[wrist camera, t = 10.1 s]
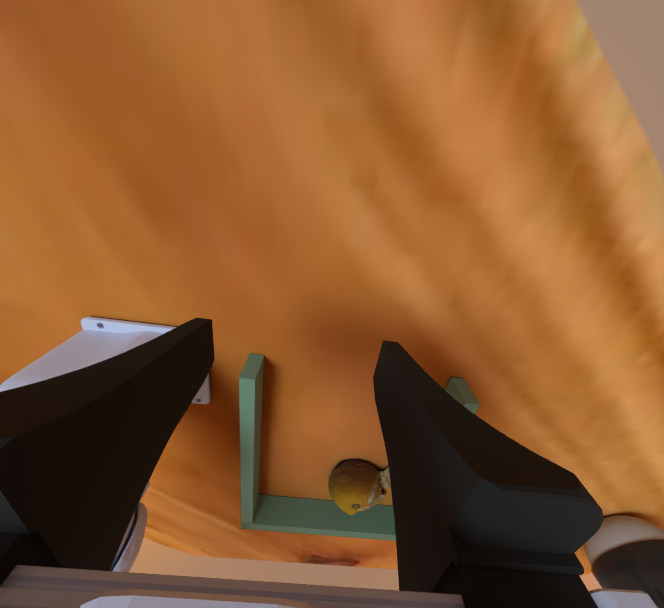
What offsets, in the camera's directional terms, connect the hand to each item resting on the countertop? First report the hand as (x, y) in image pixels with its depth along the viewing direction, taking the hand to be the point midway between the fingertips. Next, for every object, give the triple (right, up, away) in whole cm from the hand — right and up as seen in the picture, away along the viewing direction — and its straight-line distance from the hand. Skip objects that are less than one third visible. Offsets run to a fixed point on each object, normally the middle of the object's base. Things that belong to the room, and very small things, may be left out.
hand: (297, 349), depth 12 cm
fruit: (+6, -18, +20) cm, 28 cm away
